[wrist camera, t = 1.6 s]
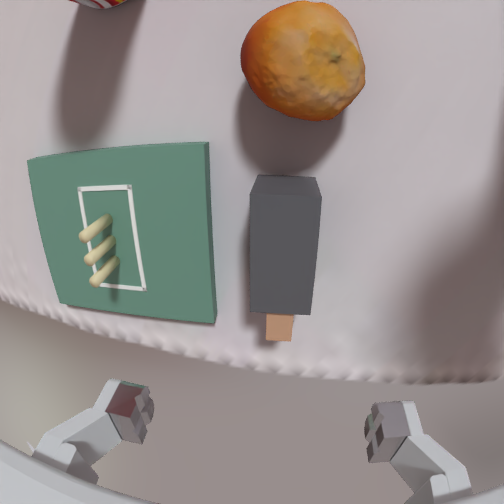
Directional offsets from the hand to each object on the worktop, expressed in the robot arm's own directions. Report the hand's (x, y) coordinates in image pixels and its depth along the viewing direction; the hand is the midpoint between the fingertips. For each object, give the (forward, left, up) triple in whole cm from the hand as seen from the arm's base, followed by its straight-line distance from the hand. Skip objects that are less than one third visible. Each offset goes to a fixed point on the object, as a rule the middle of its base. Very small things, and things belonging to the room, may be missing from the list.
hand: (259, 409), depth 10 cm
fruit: (-2, -13, -18) cm, 22 cm away
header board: (+15, +1, -18) cm, 23 cm away
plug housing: (-1, +2, -18) cm, 18 cm away
